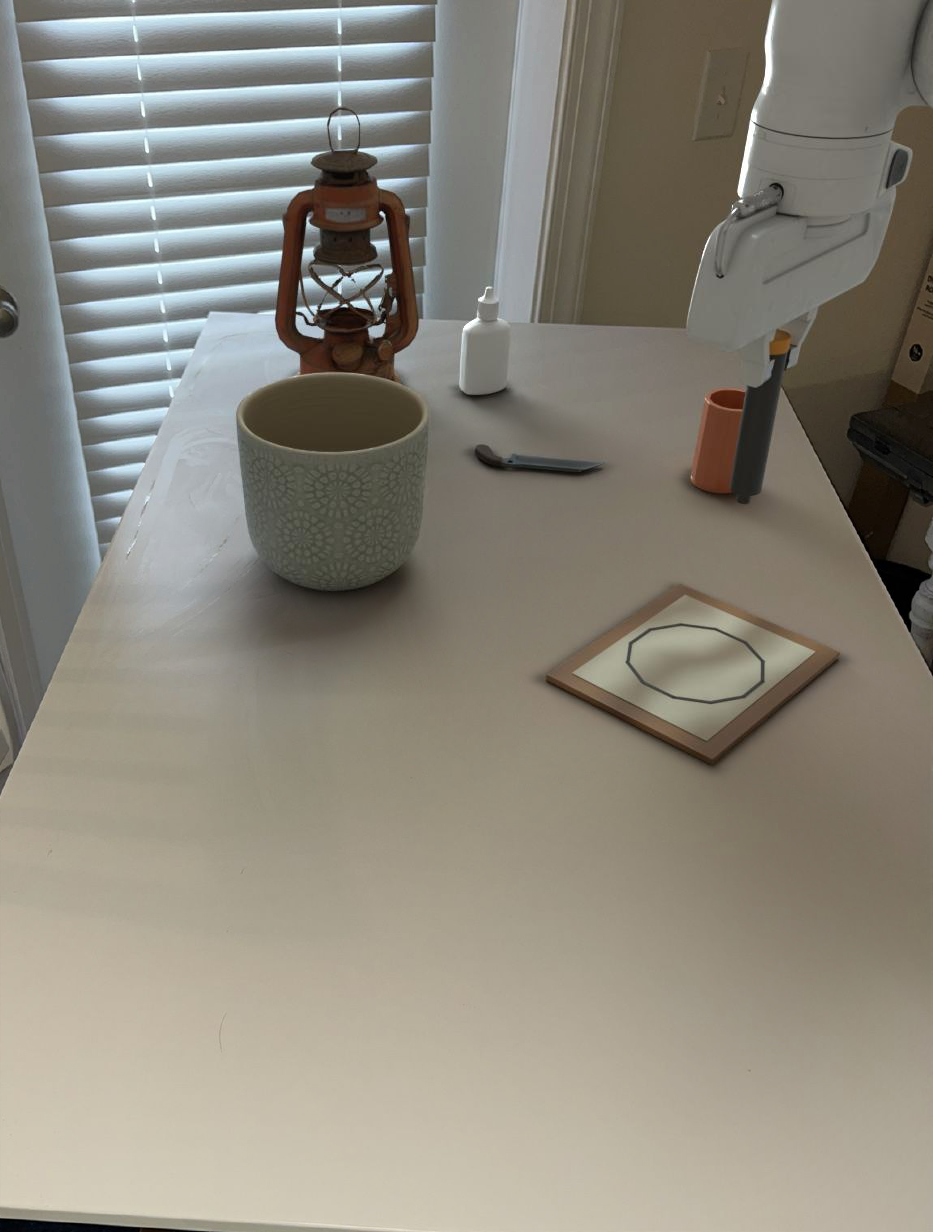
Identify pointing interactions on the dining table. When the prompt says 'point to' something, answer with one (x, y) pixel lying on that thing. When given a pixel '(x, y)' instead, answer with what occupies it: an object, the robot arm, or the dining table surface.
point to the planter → (333, 476)
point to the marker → (758, 425)
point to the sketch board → (694, 671)
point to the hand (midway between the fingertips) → (767, 375)
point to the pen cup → (717, 440)
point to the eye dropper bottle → (485, 349)
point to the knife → (534, 461)
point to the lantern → (345, 220)
